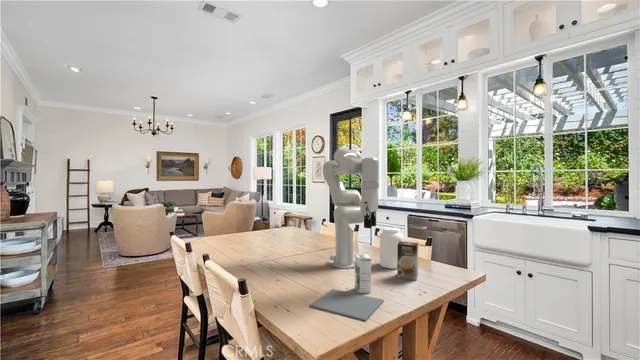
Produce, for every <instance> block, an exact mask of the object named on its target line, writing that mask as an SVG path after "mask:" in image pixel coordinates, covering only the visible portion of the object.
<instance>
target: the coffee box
mask: <svg viewBox="0 0 640 360" xmlns="http://www.w3.org/2000/svg"><path fill="white" fill-rule="evenodd" d="M396 278H398V279H399V278H400V279H404V280H409V281H410V280H412V281H417V280H418V278H419V242H411V241H404V242H402V241H399V243H398V254H397V269H396Z"/></svg>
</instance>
